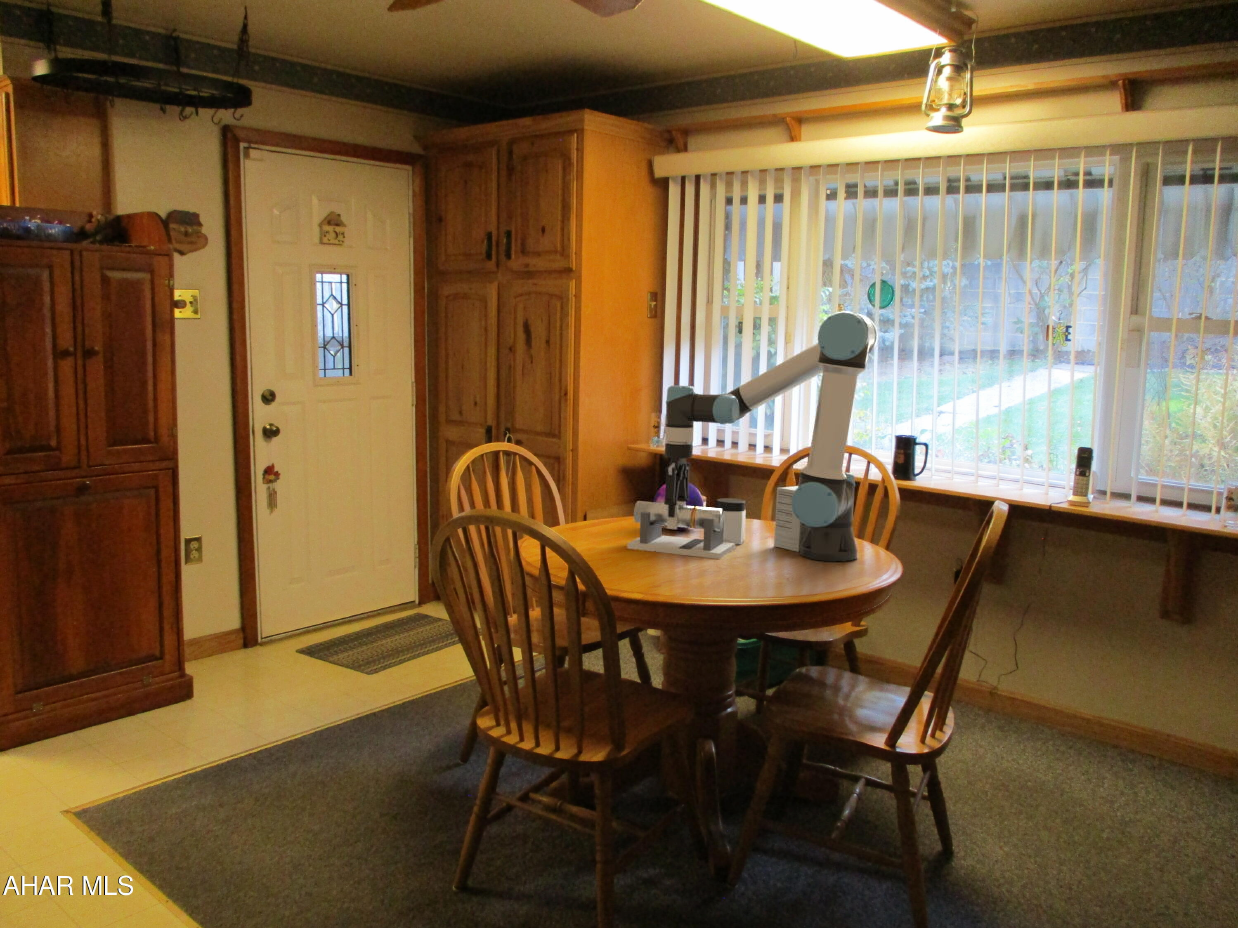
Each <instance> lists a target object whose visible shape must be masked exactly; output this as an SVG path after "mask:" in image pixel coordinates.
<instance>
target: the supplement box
mask: <svg viewBox="0 0 1238 928" xmlns="http://www.w3.org/2000/svg"><path fill="white" fill-rule="evenodd" d="M797 488H798V485H795V486H786V487H784V486H783V487H780V486H779V487H777V488H776V505H775V520H774V521H775V524H774V536H773V537H774V539H773V540H774V541H773V547H776V548H780V549H786V550H789V551H794V552H798V553H800V545H801V543H802V540H803V538H804V535H805V532H806V530H807V527H808V526H807V525H805V524H803V523H802V522H800V521H799V520H798V519H797V517H796V516H795V514H794V512H793V510H792V505H791V502H792V496H793V494H794V492H795V490H796V489H797Z"/></svg>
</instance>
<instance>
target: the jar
mask: <svg viewBox="0 0 1238 928" xmlns="http://www.w3.org/2000/svg"><path fill="white" fill-rule="evenodd" d="M715 508H719V509H723V511H724V533H723V542H728V543H735V545H742V544H743V543H744V542H745V538H746V535H745V534H746V533H745V532H746V516H747V515H746V514H747V510H746V501H745V500H744V499H741V498H734V497H733V498H731V497H729V498H726V497H725V498H718V499H716V507H715Z"/></svg>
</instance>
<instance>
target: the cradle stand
mask: <svg viewBox="0 0 1238 928" xmlns="http://www.w3.org/2000/svg"><path fill="white" fill-rule="evenodd" d="M639 524H640V528H639V537H637V538H635V539H633V540H630V541H629V542H627V546H626V547H627V549H629V550H637V549H639V550H638V551H645V550H646V551H647V552H654V551H656V553H664V554H673V555H681V556H691V557H699V558H708V559H717V560H720V559H721V558H724V556H726V555H727V554H729V553H731V552H732V551H734V550H735V549H736V544H735V543H728V542H723V533H724V524H723V528H722V530H721V531H715V530H713V529H714V518H705V519H704V529H703V539H702V538H689V537H681V536H670V535H663V532H662V531H663V525H656V524H650V512H645V511H643V512H641V521H640V523H639ZM646 551H645V552H646Z"/></svg>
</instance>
